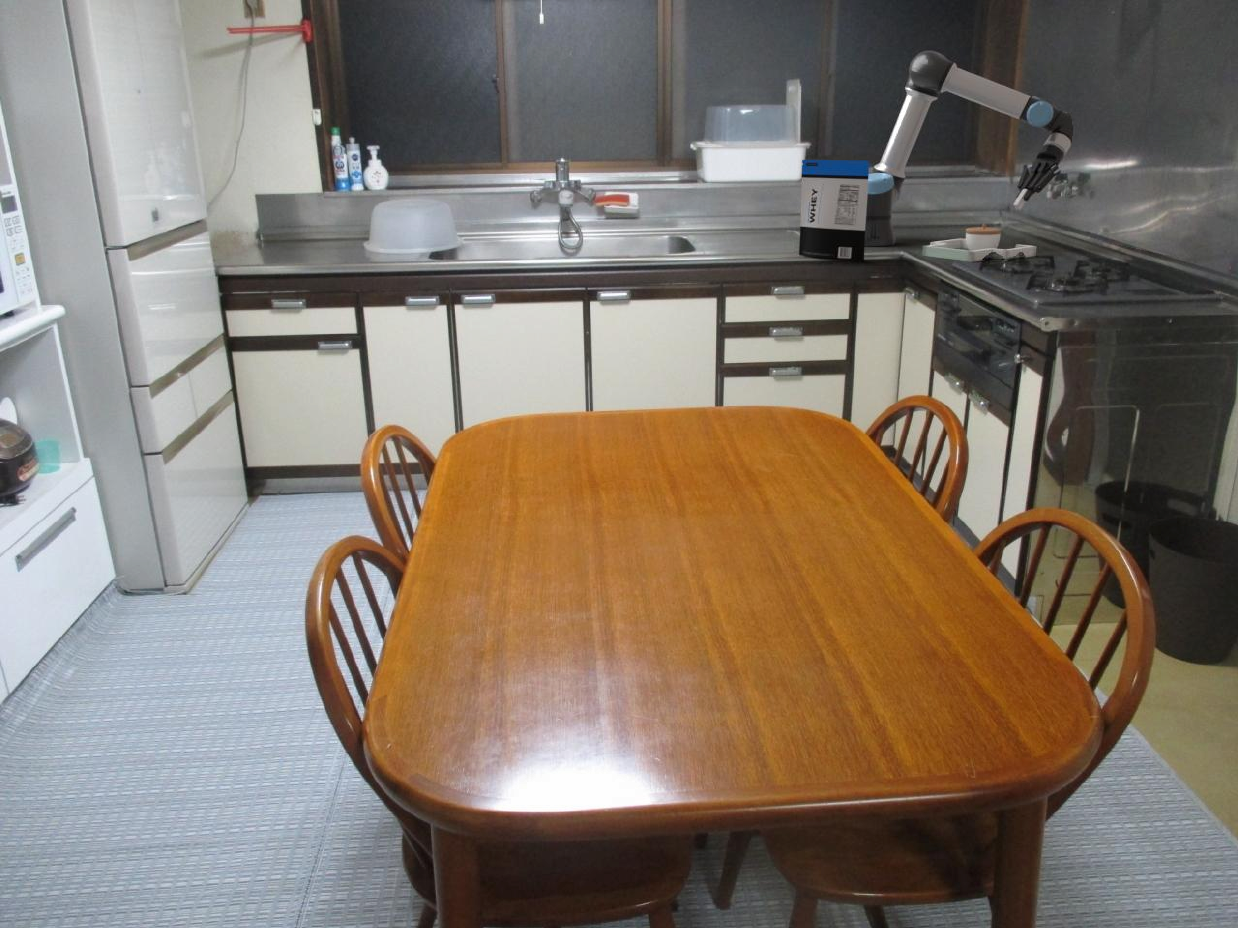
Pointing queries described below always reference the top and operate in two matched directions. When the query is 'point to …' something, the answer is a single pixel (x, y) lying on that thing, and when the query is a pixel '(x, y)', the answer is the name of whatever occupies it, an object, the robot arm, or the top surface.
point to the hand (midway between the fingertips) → (1016, 207)
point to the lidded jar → (982, 238)
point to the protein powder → (833, 209)
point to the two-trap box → (959, 251)
